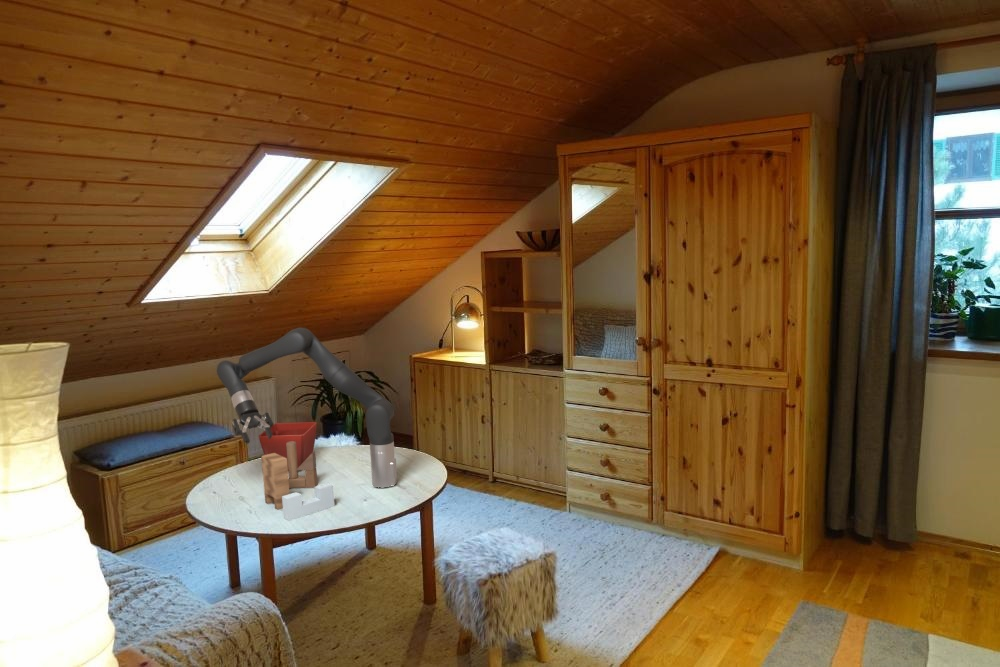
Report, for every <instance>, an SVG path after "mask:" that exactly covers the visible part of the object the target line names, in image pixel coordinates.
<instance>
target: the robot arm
mask: <svg viewBox="0 0 1000 667" xmlns="http://www.w3.org/2000/svg"><path fill="white" fill-rule="evenodd" d="M300 353H303V354H305V355H306V356H308V357H309V358H310V359H311V360H312V361H313V362H314V364H316V366H317V367H318V369H319V371H320V373H321V375H322V376H323V378H324V379H325V381H327V382H328V383H329V384H330V385H331V386H332V387H333V388H334V389H336V390H337V391H338V392H340V393H342V394H344V395H346V396H348V397H350V398H352V399H354V400H356V401H358V402H359V403H360V404H362V406H364V408H365V409H366V412H365V422H366V431H367V432H366V433H367V437H368V438H369V452H370V467H371V468H370V469H371V483H372V484H371V485H373V486H374V487H373V486H372V487H373V488H375V487H378V488H377V489H380V488H379V487H388V486H391V485H395V483H396V481H397V482H398V477H397V476H398V474H397V459H396V457H395V442H394V437H395V436H394V434H393V432H392V430H391V420H392V419H393V417H394V416H395V408H394V405H393V404H392V403H391V401H389V400H388V399H387V398H386V397H384V396H382V395H381V394H379V393H378V392H377V391H376V390H374V389H373V388H372V387H370V386H369V384H367V382H365V381H364V380H363V379H362V378H361V377H360V376H358V374H357V373H356V372H354V371H353V370H352V369H351V368H350V367H349V366H348V365H347V364H345V363H344V362H343V361H342V360H341V359H339V358H338V356H336V355H335V353H334V354H333V353H332V352H331V351H330V350H329V349H328V348H327V347H325V346H324V344H323V343H322V342H321V341H320V340H319V338H317V337H316V336H315V335H314V334H313V332H312V331H311V330H310V329H308V328H306V327H297V328H294V329H291V330H290V331H288V332H287V333H285V334H284V335H283V336H281V337H280V338H279V339H277V340H276V341H274V342H272V343H270V344H268V345H265V346H263V347H258V348H256V349H254V350H251V351H249V352H247V353H245V354H243V355H241V356H240V357H239V359H238V362H237V363H235V362H234V361H231V360H227V359H226V360H222V361H220V362H219V363H218V364H217V367H216V375H217V376H218V379H219V380H220V381H221V383H222V384H223V386H224V387H225V388H226V389H227V392H228V394H229V396H230V399H231V402H232V406H233V409H234V410H235V412H236V416H237V418H238V419H237V418H234V419H232V422H231V426H232V429H233V431H234V434H235V436H237V437H238V436H241V437H242V440H243V442H244V443H245V444H247V445H249V444H250V442H251V440H250V437H249V434H248V433H247V429H249V430H250V429H253V428H254V429H255V428H257V427H258V428H259V429H262V430H264V431H265V432H266V435H267V437H268V439H271V437H272V432H271V430H270V429H271V428H272V426H273V424H274V422H273V420H272V417H271V416H270V415H269V413H268V412H265V413H264V414H261V413H259V409H258V407H257V404H256V402H255V400H254V398H253V396H252V394H251V393H250V390H249V388H248V385H247V383H246V381H244V380H243V379H244V378H245V377H246V376H248V374H250V373H251V372H252V371H256V370H257V369H259V368H262V367H264V366H266V365H267V364H270V363H271V362H273V361H276V360H277V359H279V358H284V357H287V356H290V355H294V354H300ZM240 425H241V426H243V428H242V429H240V427H239V426H240ZM396 484H397V483H396ZM395 486H396V485H395Z"/></svg>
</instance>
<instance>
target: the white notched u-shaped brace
mask: <svg viewBox="0 0 1000 667" xmlns="http://www.w3.org/2000/svg"><path fill="white" fill-rule="evenodd" d="M334 493H335V492H334V484H332V483H329V482H327V483H323V484H319V485H317V486H316V487H315V488H314V497H312V498H309V499H305V500H303V498H302V494H301V493H299V492H292V493H290V494H288V495H285V496H282V502H283V509H282V513H283V519H284V520H286V521H287V522H289V521H293V520H296V519H300V518H302V517H305V516H308V515H312V514H315V513H317V512H320V511H324V510H328V509H331V508H333V507H335V505H336V504H335V494H334ZM302 500H303V501H302Z"/></svg>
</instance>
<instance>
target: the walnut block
mask: <svg viewBox="0 0 1000 667" xmlns="http://www.w3.org/2000/svg"><path fill="white" fill-rule="evenodd" d="M261 466H262V476H263V477H262V478H263V491H264V502H265V504H267V505H271V504H274V509H275V510H276V511H279V510H283V502H282V496H285V495H288V494H291V492H290V488H289V472H288V466H287V458H285V457H283V456H280V455H278V454H276V453H271V454H267V455H261Z"/></svg>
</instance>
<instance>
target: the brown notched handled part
mask: <svg viewBox="0 0 1000 667" xmlns="http://www.w3.org/2000/svg"><path fill="white" fill-rule="evenodd" d="M286 447H287V459H288V479H289V489H315V487H316V486H318V474H317V458H316V456H317V455H316V450H314V449H313V453H312V454H311V455H310V456H309V457H308V458H307V459H306V460H305V461H304V462H303V463H302V464H301V465H300V466H299V467H298V464H297V451H296V442H294V441H290V442H287V443H286ZM300 470H302V471H304V475H305V476H304V475H303V476H302V475H301V476H299V472H301V471H300Z"/></svg>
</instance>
